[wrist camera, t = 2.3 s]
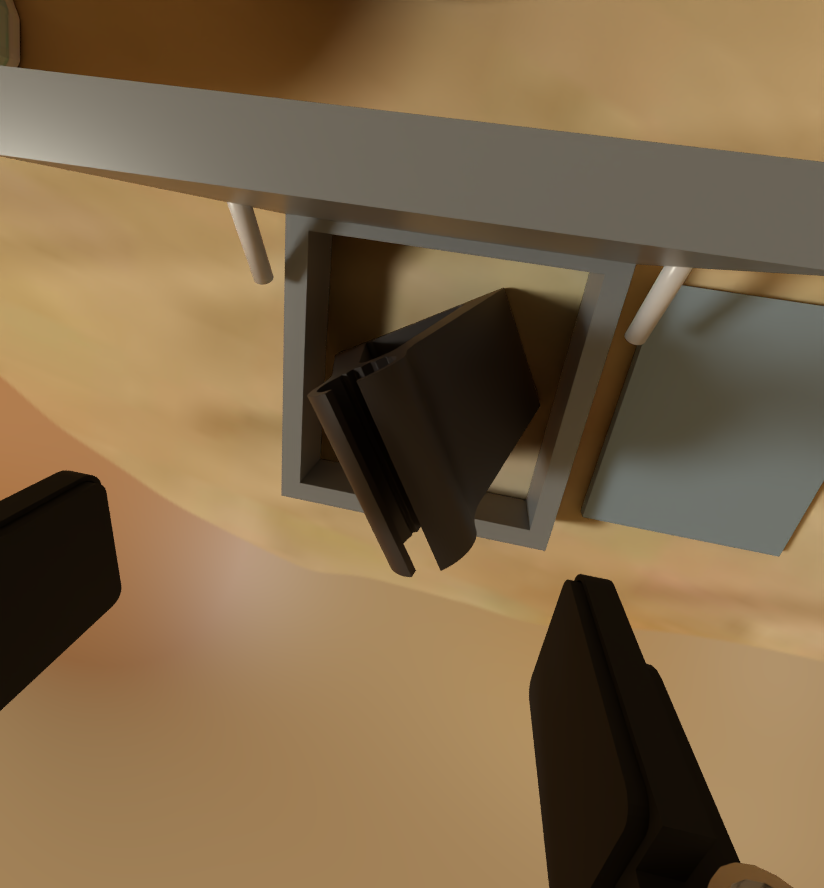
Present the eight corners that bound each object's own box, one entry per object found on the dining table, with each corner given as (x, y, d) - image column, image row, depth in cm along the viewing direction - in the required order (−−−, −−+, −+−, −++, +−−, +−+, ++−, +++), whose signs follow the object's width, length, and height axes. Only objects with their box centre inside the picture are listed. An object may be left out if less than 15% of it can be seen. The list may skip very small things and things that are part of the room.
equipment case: (649, 234, 19) (1050, 180, 5) (557, 522, 25) (634, 842, 11) (293, 185, 21) (-102, 46, 7) (287, 467, 27) (70, 690, 13)
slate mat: (905, 318, 19) (918, 320, 18) (772, 549, 23) (779, 556, 23) (658, 281, 20) (663, 282, 19) (580, 511, 24) (582, 516, 24)
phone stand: (504, 287, 21) (517, 322, 10) (540, 403, 23) (583, 541, 12) (337, 352, 23) (201, 437, 12) (381, 452, 25) (296, 602, 14)
